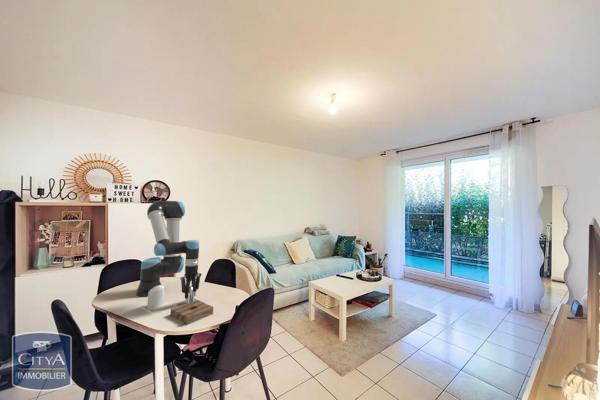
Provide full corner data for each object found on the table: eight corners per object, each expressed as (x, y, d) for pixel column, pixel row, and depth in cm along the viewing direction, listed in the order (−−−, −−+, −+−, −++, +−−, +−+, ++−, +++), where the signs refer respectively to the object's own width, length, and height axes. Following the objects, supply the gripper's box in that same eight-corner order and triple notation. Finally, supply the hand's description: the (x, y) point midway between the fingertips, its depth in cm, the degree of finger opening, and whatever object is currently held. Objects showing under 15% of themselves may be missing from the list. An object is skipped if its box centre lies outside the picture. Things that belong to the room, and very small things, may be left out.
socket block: (170, 316, 131) (170, 308, 131) (196, 306, 144) (196, 300, 144) (187, 324, 122) (187, 317, 122) (213, 313, 136) (213, 306, 136)
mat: (175, 304, 146) (175, 303, 146) (192, 298, 156) (192, 297, 156) (186, 309, 140) (186, 308, 140) (203, 303, 150) (203, 302, 150)
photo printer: (152, 311, 136) (153, 289, 136) (145, 310, 137) (147, 289, 137) (164, 304, 146) (166, 284, 147) (158, 303, 147) (159, 283, 147)
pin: (186, 303, 148) (186, 287, 148) (190, 301, 150) (191, 285, 150) (188, 304, 146) (189, 288, 146) (193, 302, 149) (194, 286, 149)
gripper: (183, 268, 140) (181, 308, 139) (206, 263, 153) (204, 299, 153) (176, 266, 144) (174, 304, 144) (199, 261, 157) (197, 297, 157)
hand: (189, 302), depth 148 cm, fingers closed on pin, 3 cm apart
